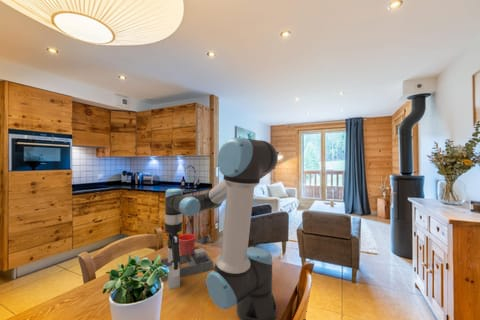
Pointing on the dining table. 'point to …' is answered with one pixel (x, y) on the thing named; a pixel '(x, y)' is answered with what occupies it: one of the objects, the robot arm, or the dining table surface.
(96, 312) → the dining table surface
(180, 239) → the flower pot
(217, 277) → the robot arm
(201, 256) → the seated nut
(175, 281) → the block
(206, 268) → the grey compartment tray
